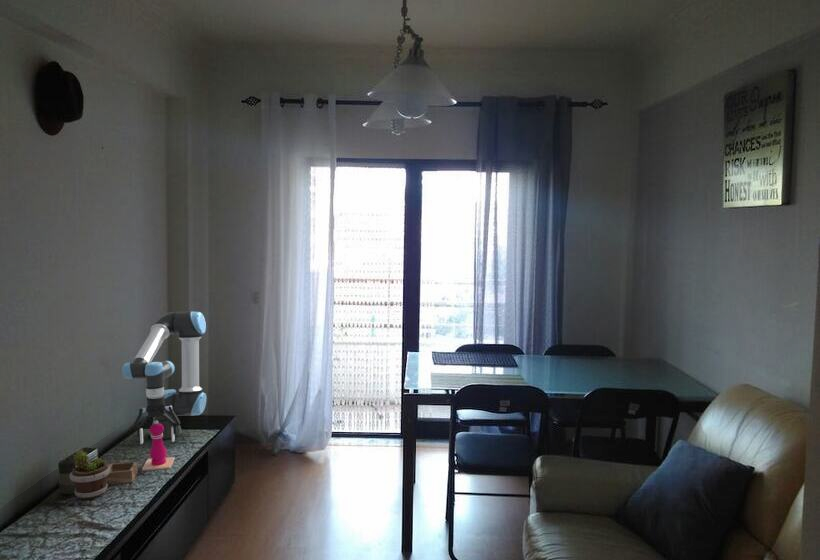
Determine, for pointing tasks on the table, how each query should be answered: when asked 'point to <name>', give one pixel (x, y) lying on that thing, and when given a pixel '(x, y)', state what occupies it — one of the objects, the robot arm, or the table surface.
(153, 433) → the pepper mill
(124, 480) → the wooden box
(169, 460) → the plate
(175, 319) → the robot arm
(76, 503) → the table surface
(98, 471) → the flowerpot
